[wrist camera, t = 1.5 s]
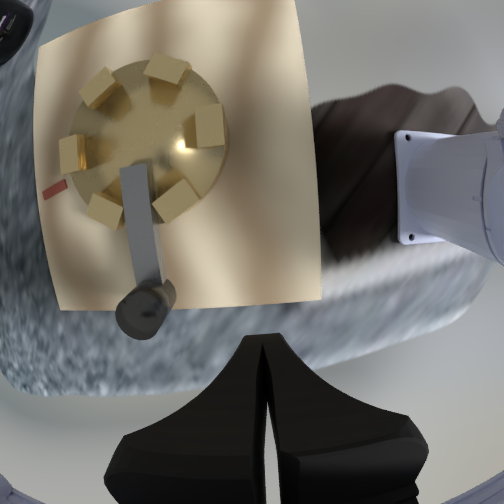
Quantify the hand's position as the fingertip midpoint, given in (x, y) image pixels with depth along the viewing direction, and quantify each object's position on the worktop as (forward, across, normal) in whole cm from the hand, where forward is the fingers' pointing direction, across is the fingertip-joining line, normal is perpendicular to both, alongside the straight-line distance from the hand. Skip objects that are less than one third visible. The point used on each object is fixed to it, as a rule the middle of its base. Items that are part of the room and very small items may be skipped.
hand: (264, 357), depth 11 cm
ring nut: (+9, +6, -7) cm, 13 cm away
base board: (+10, +6, -9) cm, 15 cm away
